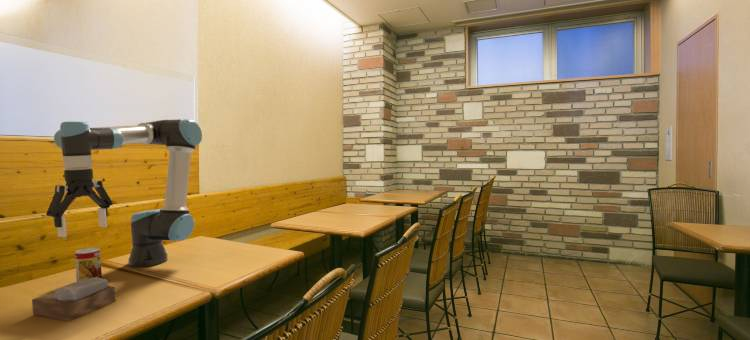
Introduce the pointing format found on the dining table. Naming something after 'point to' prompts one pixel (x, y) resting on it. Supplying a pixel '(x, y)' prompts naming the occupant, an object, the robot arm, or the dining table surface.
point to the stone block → (80, 289)
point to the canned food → (88, 263)
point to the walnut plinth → (71, 305)
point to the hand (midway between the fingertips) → (83, 231)
